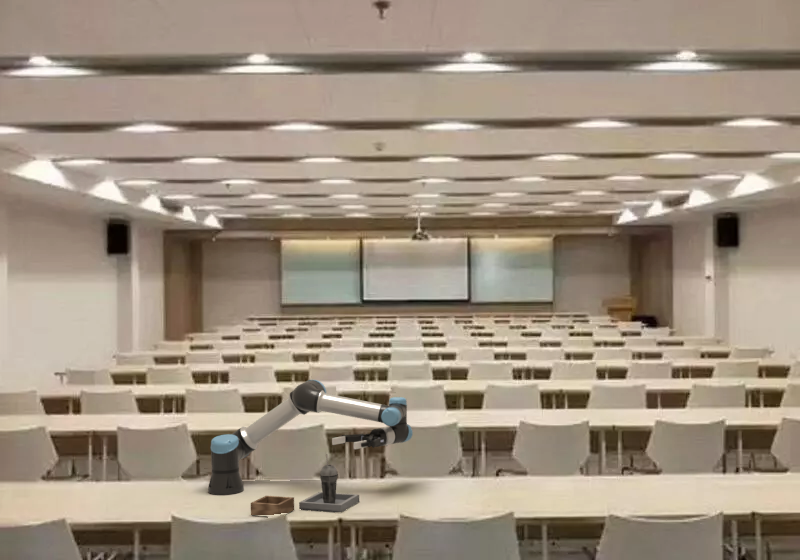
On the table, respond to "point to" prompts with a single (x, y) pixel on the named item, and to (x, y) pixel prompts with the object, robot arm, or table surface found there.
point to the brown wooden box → (272, 505)
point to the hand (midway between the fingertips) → (343, 443)
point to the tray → (340, 504)
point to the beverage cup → (328, 482)
